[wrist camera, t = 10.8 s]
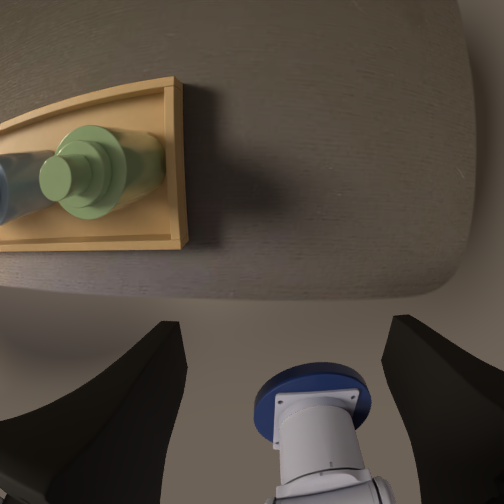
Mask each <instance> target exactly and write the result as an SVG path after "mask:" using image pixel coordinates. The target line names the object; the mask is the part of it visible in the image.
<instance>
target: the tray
mask: <svg viewBox="0 0 504 504" xmlns="http://www.w3.org/2000/svg"><path fill="white" fill-rule="evenodd" d="M86 125H98V126H107V127H116V128H124V129H132V130H139V131H144V132H147V133H150V134H152V135H153V136H155V137H156V138H157V139H158V140H159V141H160V143H161V144H162V146H163V147H164V150H165V154H166V175H165V178H164V180H163V182H162V184H161V185H160V186H159V188H158V189H157V190H156V191H155V192H154V193H152V194H151V195H149V196H147V197H145V198H142V199H140V200H138V201H135V202H133V203H131V204H129V205H126V206H124V207H122V208H120V209H117V210H115V211H113V212H111V213H109V214H107V215H104V216H102V217H100V218H97V219H91V220H85V219H80V218H77V217H75V216H73V215H71V214H70V213H68V212H67V211H66V210H65V209H64V208H63V207H62V206H61V204H60V203H59V201H57V202H56V204H54V205H53V206H52V207H49V208H47V209H44V210H41V211H38V212H36V213H33V214H30V215H28V216H25V217H22V218H20V219H17V220H15V221H12V222H10V223H7V224H5V225H2V226H0V252H21V251H94V250H181V249H182V248H183V247H184V245H185V244H186V243H187V242H188V241H189V235H188V222H187V207H186V190H185V169H184V142H183V83H182V82H180V81H179V80H178V79H177V78H176V77H174V76H172V77H165V78H158V79H152V80H146V81H140V82H135V83H130V84H125V85H120V86H115V87H111V88H107V89H102V90H98V91H94V92H91V93H87V94H83V95H79V96H76V97H72V98H69V99H66V100H63V101H59V102H56V103H53V104H50V105H47V106H44V107H41V108H38V109H36V110H33V111H30V112H28V113H25V114H22V115H20V116H17V117H15V118H12V119H10V120H8V121H5V122H3V123H1V124H0V154H5V153H14V152H23V151H34V150H50V151H52V152H53V153H55V152H56V149H57V148H58V146H59V144H60V143H61V141H62V140H63V139H64V138H65V136H67V135H68V134H69V133H70V132H71V131H73V130H74V129H77V128H79V127H82V126H86Z"/></svg>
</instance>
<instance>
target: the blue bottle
mask: <svg viewBox="0 0 504 504" xmlns="http://www.w3.org/2000/svg"><path fill="white" fill-rule="evenodd" d="M54 154H55V153H53V152H52V151H50V150H34V151H23V152H14V153H5V154H0V226H2V225H5V224H7V223H10V222H12V221H15V220H17V219H20V218H22V217H25V216H28V215H30V214H33V213H36V212H38V211H41V210H44V209H47V208H49V207H52V206H53V205H54V204H56V202H57V201H51V200H49V199H48V198H47V197H46V196H45V195H44V194H43V192H42V190H41V187H40V182H39V175H40V170H41V168H42V166H43V164H44V162H45V161H46V160H47V159H49V158H50V157H52V156H54Z"/></svg>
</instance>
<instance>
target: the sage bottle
mask: <svg viewBox="0 0 504 504" xmlns="http://www.w3.org/2000/svg"><path fill="white" fill-rule="evenodd" d="M165 175H166V154H165V150H164V147H163V146H162V144H161V143H160V141H159V140H158V139H157V138H156V137H155V136H153V135H152V134H150V133H147V132H144V131H139V130H132V129H124V128H116V127H107V126H98V125H86V126H82V127H79V128H77V129H74V130H73V131H71V132H70V133H69V134H68V135H67V136H65V138H64V139H63V140H62V141H61V143H60V144H59V146H58V148H57V149H56V152H55V154H54V156H52V157H50V158H49V159H47V160H46V161H45V162H44V164H43V166H42V168H41V170H40V175H39V182H40V187H41V190H42V192H43V194H44V195H45V196H46V197H47V198H48V199H49V200H51V201H59V203H60V204H61V206H62V207H63V208H64V209H65V210H66V211H67V212H68V213H70V214H71V215H73V216H75V217H77V218H80V219H85V220H91V219H97V218H100V217H102V216H104V215H107V214H109V213H111V212H113V211H115V210H117V209H120V208H122V207H124V206H126V205H129V204H131V203H133V202H135V201H138V200H140V199H142V198H145V197H147V196H149V195H151V194H152V193H154V192H155V191H156V190H157V189H158V188H159V186H160V185H161V184H162V182H163V180H164V178H165Z"/></svg>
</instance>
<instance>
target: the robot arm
mask: <svg viewBox="0 0 504 504" xmlns="http://www.w3.org/2000/svg"><path fill="white" fill-rule="evenodd" d="M381 362H382V366H383V370H384V373H385V377H386V380H387V384H388V386H389V389H390V391H391V394H392V396H393V398H394V401H395V403H396V405H397V408H398V410H399V413H400V415H401V417H402V420H403V422H404V425H405V427H406V430H407V432H408V435H409V438H410V441H411V445H412V449H413V453H414V457H415V461H416V467H417V472H418V478H419V484H420V492H421V502H422V504H504V371H502V370H499V369H498V368H496V367H493V366H491V365H489V364H487V363H485V362H484V361H482V360H480V359H478V358H476V357H475V356H473V355H471V354H470V353H468V352H466V351H465V350H463V349H461V348H460V347H458V346H457V345H455V344H454V343H452V342H450V341H449V340H448V339H446V338H445V337H443V336H442V335H440V334H439V333H437V332H436V331H434V330H433V329H431V328H430V327H428V326H427V325H425V324H424V323H422V322H421V321H419V320H417V319H416V318H414V317H412V316H410V315H398V316H393V320H392V323H391V327H390V331H389V335H388V339H387V343H386V346H385V349H384V353H383V356H382V359H381ZM187 368H188V366H187V362H186V357H185V352H184V347H183V341H182V335H181V330H180V324H179V322H177V321H161V322H160V323H159V324H157V325H156V326H155V327H154V328H153V329H152V330H151V331H150V332H149V333H147V334H146V335H145V336H144V337H143V338H142V339H141V340H140V341H139V342H138V343H137V344H135V345H134V346H133V347H132V348H131V349H130V350H129V351H127V352H126V353H125V354H124V355H123V356H122V357H121V358H119V359H118V360H117V361H115V362H114V363H113V364H112V365H110V366H109V367H108V368H107V369H105V370H104V371H103V372H102V373H100V374H99V375H97V376H96V377H95V378H93V379H92V380H90V381H89V382H88V383H86V384H84V385H83V386H81V387H80V388H78V389H76V390H75V391H73V392H71V393H69V394H67V395H65V396H63V397H61V398H60V399H58V400H56V401H54V402H52V403H50V404H48V405H46V406H43V407H41V408H39V409H37V410H34V411H31V412H29V413H26V414H23V415H20V416H18V417H14V418H11V419H7V420H3V421H0V488H1V489H2V490H3V491H4V492H6V493H7V495H6V497H5V499H3V498H1V497H0V504H160V496H161V486H162V478H163V471H164V464H165V458H166V453H167V448H168V444H169V441H170V437H171V434H172V430H173V427H174V423H175V420H176V417H177V413H178V410H179V407H180V403H181V400H182V396H183V393H184V387H185V381H186V375H187ZM352 396H353V397H352ZM358 396H359V390H358V388H349V389H339V390H326V391H311V392H288V393H278V394H276V396H275V415H274V435H273V449H275V450H280V470H281V486H277V487H276V497H270V498H268V499H267V501H266V502H265V503H264V504H396V502H395V497H394V494H393V491H392V488H391V486H390V484H389V482H388V481H387V480H384V479H382V478H381V477H380V476H377V477H374V478H372V477H371V473H370V470H369V468H367V469H365V466H364V462H363V459H362V455H361V451H360V448H359V443H358V440H357V436H356V432H355V429H354V425H353V422H352V416H353V413H354V410H355V406H356V403H357V399H358Z"/></svg>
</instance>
